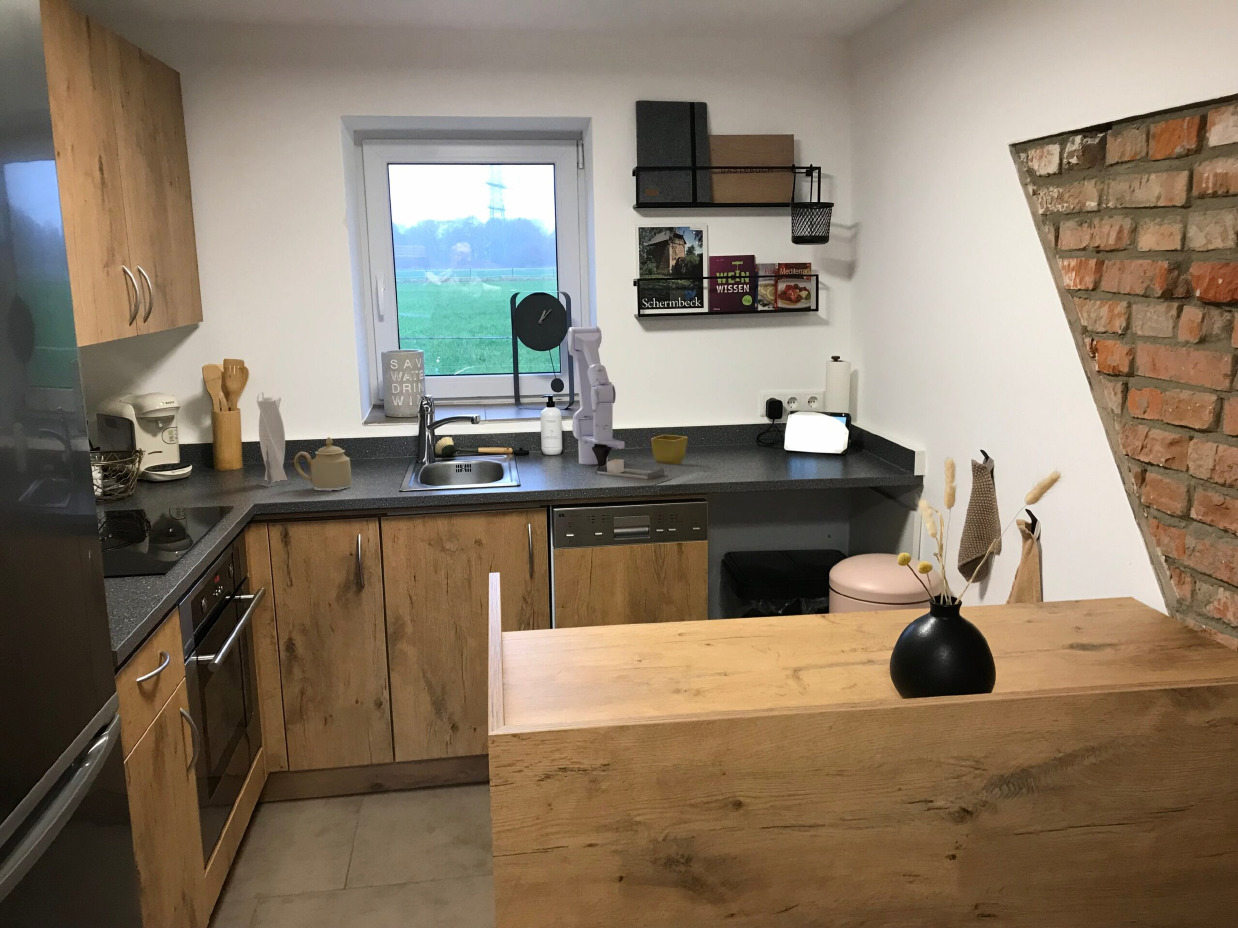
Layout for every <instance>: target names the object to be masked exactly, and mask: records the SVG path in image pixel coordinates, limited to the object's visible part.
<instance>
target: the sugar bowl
mask: <svg viewBox="0 0 1238 928" xmlns="http://www.w3.org/2000/svg"><path fill="white" fill-rule="evenodd" d="M325 444H326V446H323V447H320V448H319V449H318V450H317V451H315V454H316V456H315V457H314V458H313V459H312V458H311V455H310V454H309V453H308V452H306V451H300V452H298V453H297V454H296V455H295V456H294V467H295V469H296V470H297V472H298V474H299V475H300V476H301V477H302V478H304V479H305V480H307V481H309V482H310V483H311V484H312V488H313V487H317V488H338V487H346V486H349V485H351V486H352V470H351V458H350V457H348V456H346V455H345V451H346V450H345V449H342V448H341V447H340V446H335V445H333V439H332V438H331V437H329V436H327V438H326V441H325ZM300 456H304V457H306V460H307V462H308V466H309V468H310V472H311V477H310V476H309V475H308V474H306V472H304V471H303V469H301V467H300V465H299V458H300Z"/></svg>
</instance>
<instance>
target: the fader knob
mask: <svg viewBox="0 0 1238 928" xmlns="http://www.w3.org/2000/svg"><path fill="white" fill-rule="evenodd" d="M624 463H625V462H624V459H621V458H620V459H619V458H618V459H616V458H615V459H612V460H608V461H606V464H607V471H606V472H612V473H621V474H622V473H623V472H625V471H624V469H625V466H624Z"/></svg>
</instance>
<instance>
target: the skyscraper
mask: <svg viewBox="0 0 1238 928" xmlns="http://www.w3.org/2000/svg"><path fill="white" fill-rule="evenodd" d="M264 394H265V393H264V392H263V391H260V392H259V393H258V395H257V398H256V404H257V406H258V409H259V419H258V439H259V445H260V450H261V455H262V458H263V459H262V460H263V462H264V466H265V475H264V480H267V481H268V484H272V483H273V482H275V481H280V480H288V478H287V474H286V472H285V469H284V463H285V452H286V433H285V427H284V422H283V418H282V415H281V412H280V405H281V401H282V400H281V399H282V398H281V397H280V396H277V397H275V398H274V396H264ZM260 395H261V400H259V399H260Z"/></svg>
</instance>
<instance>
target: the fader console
mask: <svg viewBox="0 0 1238 928" xmlns="http://www.w3.org/2000/svg"><path fill="white" fill-rule="evenodd" d="M624 472H627V473H622V472H621V473H612V472H607V463H606V465H602V466H598V465H597V466H594V474H599V475H609V476H615V477H617V476H618V477H623V478H624V477H626V478H634V479H635V478H636V479H644V480H653V479H657V478H660V477H663V476H665V468H658V469H656V470H652V471H651V470H650V471H649V470H641V469H631V468H624ZM628 472H629V473H630V472H631V473H636V474H637V473H639V474H647V476H646V475H638V474H637V475H636V474H629V473H628ZM670 481H672V478H671V479H668V480H665V481H662V482H659V483H655V484H654V486H657V485H659V484H664V483H666V482H670Z"/></svg>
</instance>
